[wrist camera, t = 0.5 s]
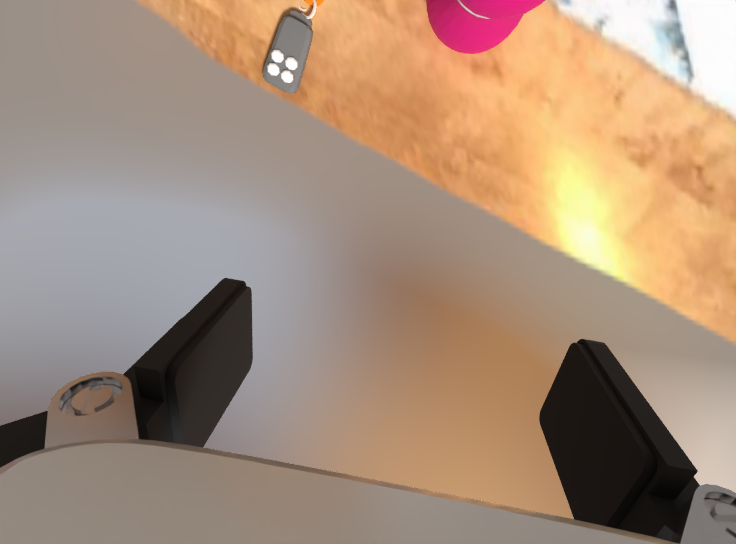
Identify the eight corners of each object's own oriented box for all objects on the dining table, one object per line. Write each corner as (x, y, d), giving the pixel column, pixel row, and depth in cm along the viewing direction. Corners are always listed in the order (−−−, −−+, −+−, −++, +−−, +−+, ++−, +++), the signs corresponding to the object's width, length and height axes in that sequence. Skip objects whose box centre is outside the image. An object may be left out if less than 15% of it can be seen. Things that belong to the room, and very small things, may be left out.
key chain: (299, 97, 36) (294, 97, 35) (264, 78, 36) (258, 78, 35) (355, -61, 31) (352, -68, 29) (313, -85, 30) (308, -93, 29)
